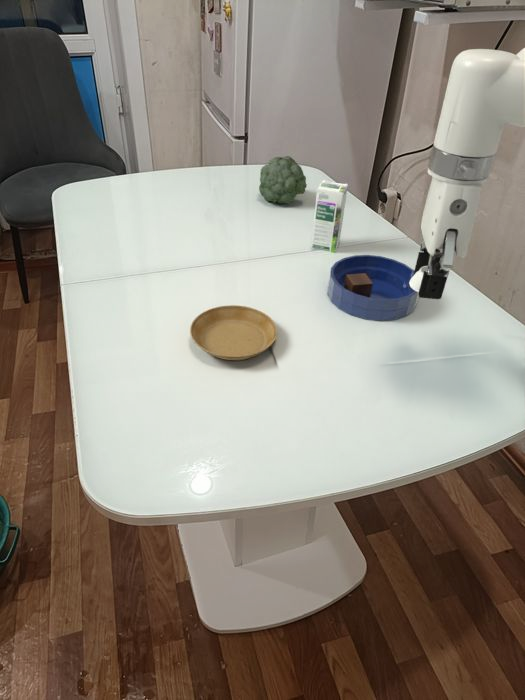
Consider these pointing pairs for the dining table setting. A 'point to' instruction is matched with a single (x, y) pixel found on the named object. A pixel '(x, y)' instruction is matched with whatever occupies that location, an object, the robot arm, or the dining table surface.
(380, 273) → the bowl
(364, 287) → the walnut block
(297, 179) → the vegetable
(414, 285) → the white jar
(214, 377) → the dining table surface
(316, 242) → the syrup box
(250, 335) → the plant saucer
